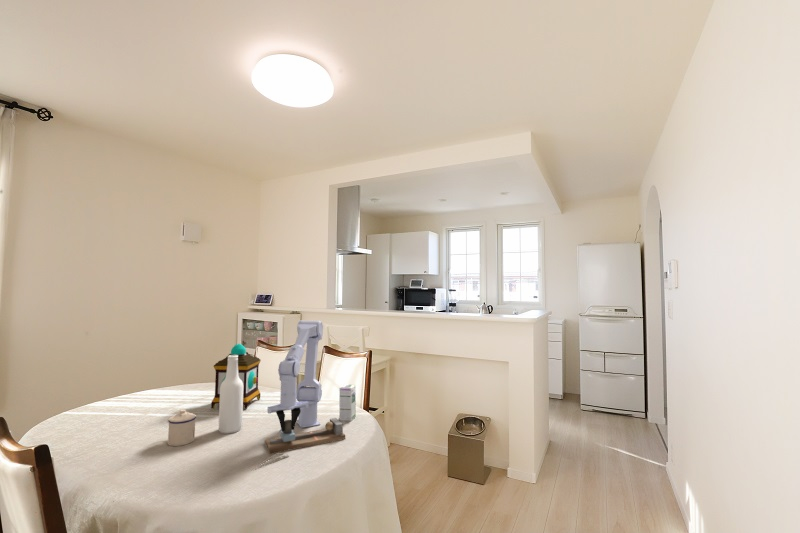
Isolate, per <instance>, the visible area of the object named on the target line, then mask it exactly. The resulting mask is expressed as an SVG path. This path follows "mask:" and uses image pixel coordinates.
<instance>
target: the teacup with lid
mask: <svg viewBox="0 0 800 533" xmlns="http://www.w3.org/2000/svg"><path fill="white" fill-rule="evenodd" d="M196 419H197V416H196V414H195V413H192V412H189V411H187V410H186V409H180V410H179V412H178V413H176V414H174V415H172V416H170V417H169V418H168V435H167V436H168V438H167V439H168V440H167V443H168V446H171V447H181V446H185V445H188V444H190V443H192V442H193V441H194V440H195V434H196V432H195V431H196Z"/></svg>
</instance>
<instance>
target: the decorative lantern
mask: <svg viewBox="0 0 800 533" xmlns="http://www.w3.org/2000/svg"><path fill="white" fill-rule="evenodd" d="M230 355H237V356H238V376H239V378H240V379H241V381H242V382H243V410H245V411H246V410H247V409H248V406H249V403H250V402H251V401H252V400H254V399H256V400H257V401H260V400H261V392H260V389H259V365H260V363H261V359H260V358H259V357H257V356H255V355H254V356H253V355H252V354H250V353H249V352H247V349H246V347H245V346H244V345H243V344H241V343H237V344H235V345H234V346H232V348H231V349H230V353H228V354H227V356H225V358H222V359H221V360H218V361H217V362H216V363H215V364H213V368H214V370H215V378H214V379H215V380H214V382H215V384H214V385H215V386H214V397H213V398H212V400H211V404H210V405H211V409H212V410H214V409H216V404H217V405H218V404H220V387H221V384H222V382H223V381H224V380H225V378H226V373H227V364H228V356H230Z"/></svg>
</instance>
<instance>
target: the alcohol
mask: <svg viewBox="0 0 800 533" xmlns="http://www.w3.org/2000/svg"><path fill="white" fill-rule="evenodd" d="M227 356H228V355H227ZM243 410H244V404H243V382H242V381H241V379H240V378H239V376H238V356H237V355H230V356H228V364H227V373H226V378H225V380H224V381H223V382H222V384H221V387H220V404H219V410H218V431H219V432H220V433H221V434H226V435H227V434H235V433H237V432H239V431H240V430H241V429H242V427H243V414H244V412H243Z"/></svg>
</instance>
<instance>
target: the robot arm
mask: <svg viewBox="0 0 800 533" xmlns="http://www.w3.org/2000/svg"><path fill="white" fill-rule="evenodd" d="M323 330H324V325H323V322H322V321H321V320H302V319H301V320H299V322H298V323H297V326H296V332H297V337H296V340H295V342H294V345H291V346H290V347H289V349H288V352H287V354H286V356H285V358H284V359H283V360H282V361H280V363H279V364H278V370H277V371H278V375H279V381H280V401H279V402H280V403H279V404H275V405H271V406H267V414H268V415H269V414H272V413H275V414H276V415H277V418H278V421H279V424H280V430H281V431H282V432H284V421H285V420H286V419H285V418H286V413H285V412H286V411H290V414H291V419H290V420H292V430H293V431H295V428H296V423H297V424H298V425H299V427H300V428H301V429H303V428H310V427H315V426H320V425H321V423H320V422H319V420H318V403H319V402H320V401H321V399H322V397H323V396H322V394H323V390H322V383H321V382H320V381H318V380H317V377H316V376H317V364H318V363H317V362H318V350H319V341H321V340H322V339H323V334H324V331H323ZM305 345H306V350H305V349H304V347H305ZM304 355H305V363H304V377H303V379H302V380H301V381H300V382H298V379H297V378H298V376H299V373H300V369H301V361H302V358H303V356H304ZM297 382H298V384H297Z"/></svg>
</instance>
